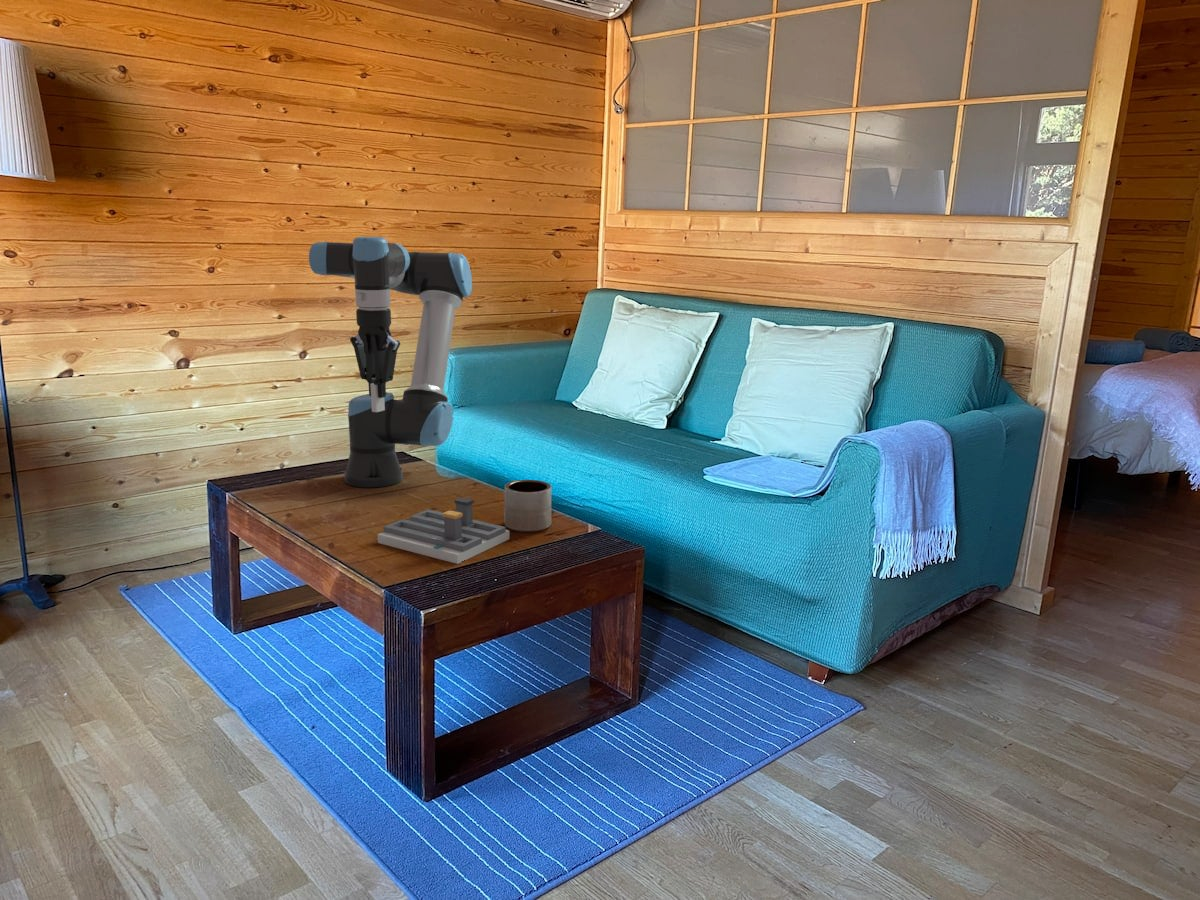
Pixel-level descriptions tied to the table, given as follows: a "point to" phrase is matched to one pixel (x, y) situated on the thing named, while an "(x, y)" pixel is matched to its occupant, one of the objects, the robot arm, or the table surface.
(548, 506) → the planter
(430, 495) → the table surface
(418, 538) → the console
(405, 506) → the table surface
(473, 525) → the fader
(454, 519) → the fader
